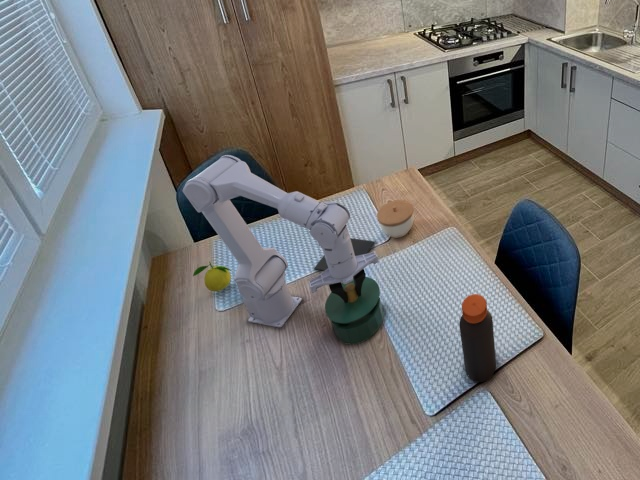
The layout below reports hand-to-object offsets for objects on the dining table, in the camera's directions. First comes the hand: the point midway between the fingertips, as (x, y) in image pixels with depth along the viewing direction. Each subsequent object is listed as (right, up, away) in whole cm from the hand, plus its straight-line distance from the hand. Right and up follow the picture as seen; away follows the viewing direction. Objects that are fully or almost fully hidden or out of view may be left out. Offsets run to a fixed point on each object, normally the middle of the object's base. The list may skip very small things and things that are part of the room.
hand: (352, 296), depth 95 cm
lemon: (-40, -5, +14) cm, 43 cm away
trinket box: (+2, +5, +31) cm, 32 cm away
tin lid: (0, -1, 0) cm, 1 cm away
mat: (-11, +1, +23) cm, 25 cm away
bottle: (+31, -12, -7) cm, 34 cm away
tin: (0, -8, +4) cm, 9 cm away
